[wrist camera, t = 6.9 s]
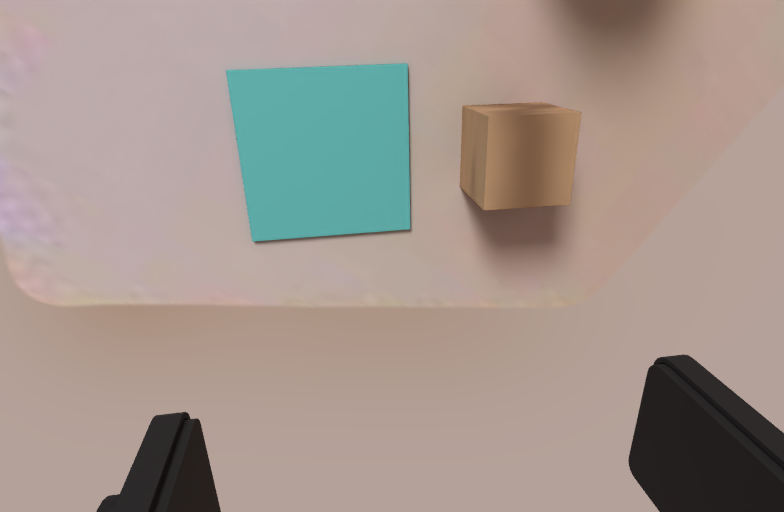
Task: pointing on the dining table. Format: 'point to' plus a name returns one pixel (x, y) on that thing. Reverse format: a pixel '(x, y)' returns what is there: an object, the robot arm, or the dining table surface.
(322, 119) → the teal mat
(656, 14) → the dining table surface
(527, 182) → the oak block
